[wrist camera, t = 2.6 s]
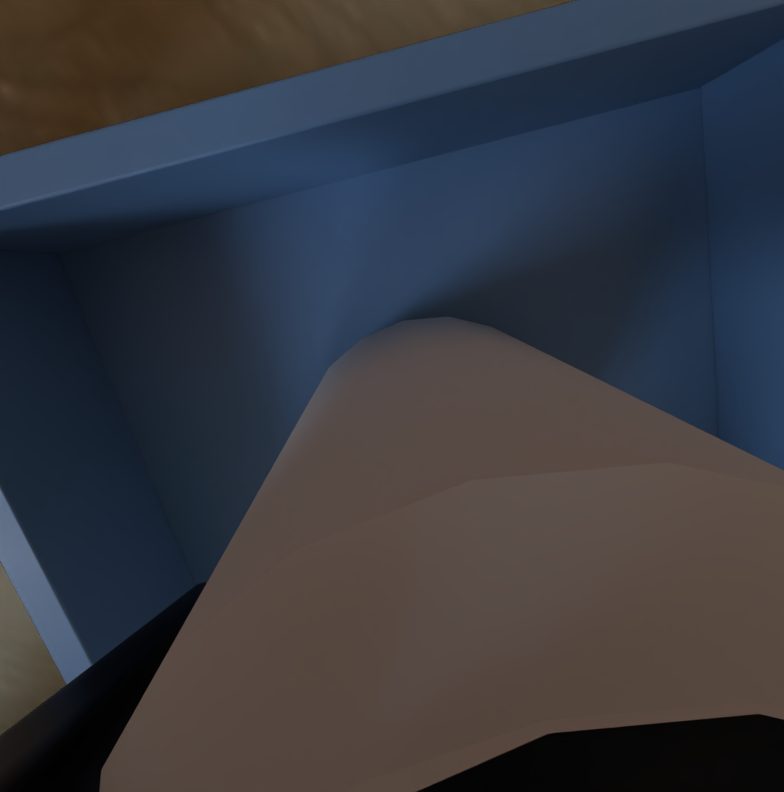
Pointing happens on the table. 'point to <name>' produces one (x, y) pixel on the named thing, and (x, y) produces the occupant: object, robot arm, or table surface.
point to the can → (480, 594)
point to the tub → (374, 271)
